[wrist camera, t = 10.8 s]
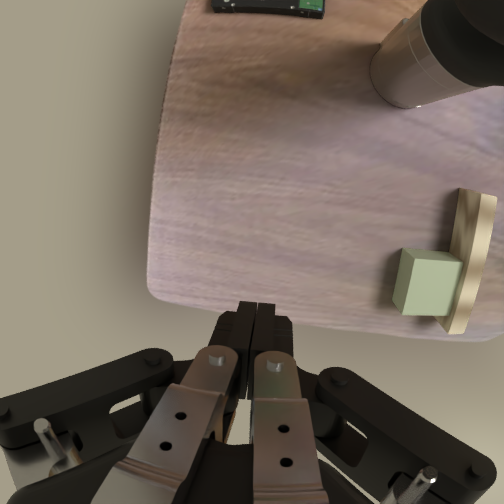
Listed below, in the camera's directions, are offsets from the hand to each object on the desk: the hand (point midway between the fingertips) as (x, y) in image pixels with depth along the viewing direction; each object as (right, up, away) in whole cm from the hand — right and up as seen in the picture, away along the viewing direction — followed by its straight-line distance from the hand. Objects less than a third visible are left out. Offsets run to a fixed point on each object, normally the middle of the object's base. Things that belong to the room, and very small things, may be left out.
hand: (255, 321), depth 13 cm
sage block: (+25, 0, +29) cm, 38 cm away
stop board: (+30, +2, +27) cm, 41 cm away
